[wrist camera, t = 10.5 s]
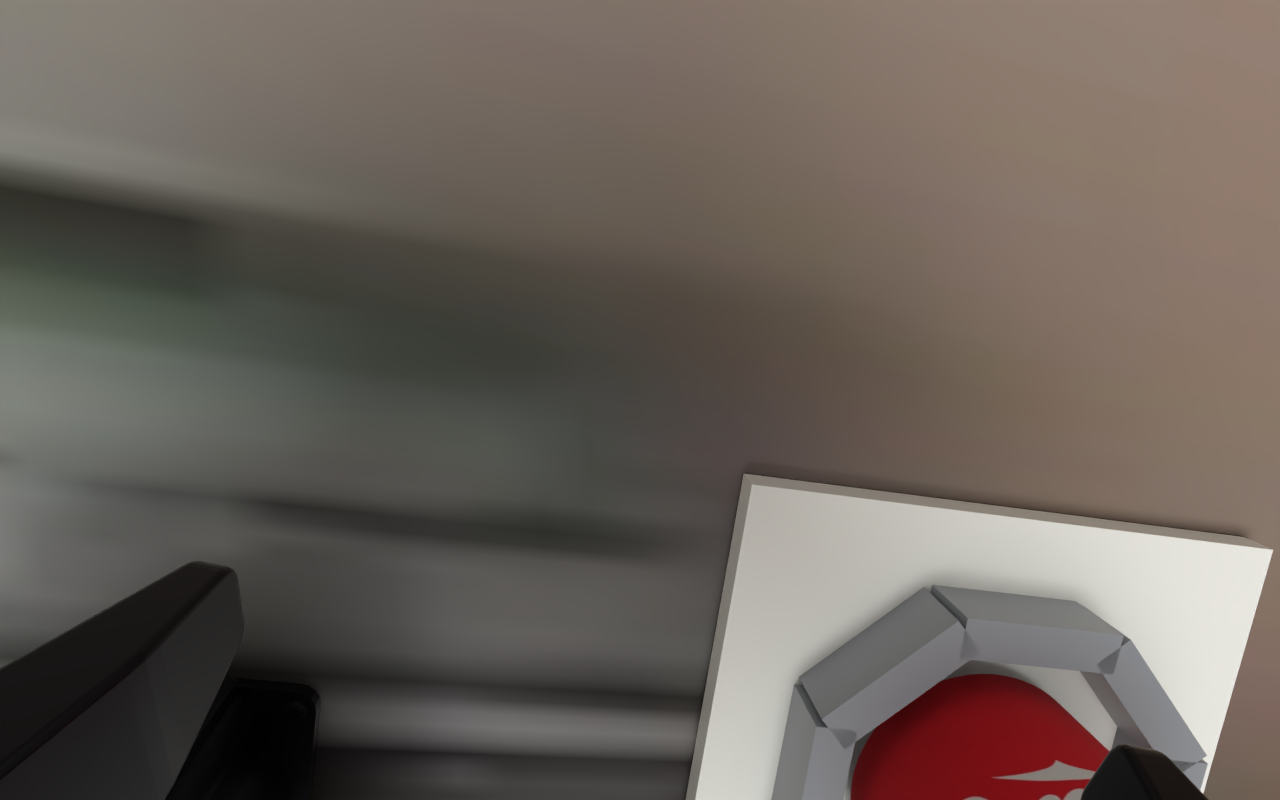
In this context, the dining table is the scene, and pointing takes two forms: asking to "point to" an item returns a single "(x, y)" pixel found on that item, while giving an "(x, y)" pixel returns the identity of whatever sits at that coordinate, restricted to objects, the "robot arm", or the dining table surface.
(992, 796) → the beverage can
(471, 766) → the dining table surface
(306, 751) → the robot arm
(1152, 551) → the tray
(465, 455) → the dining table surface
